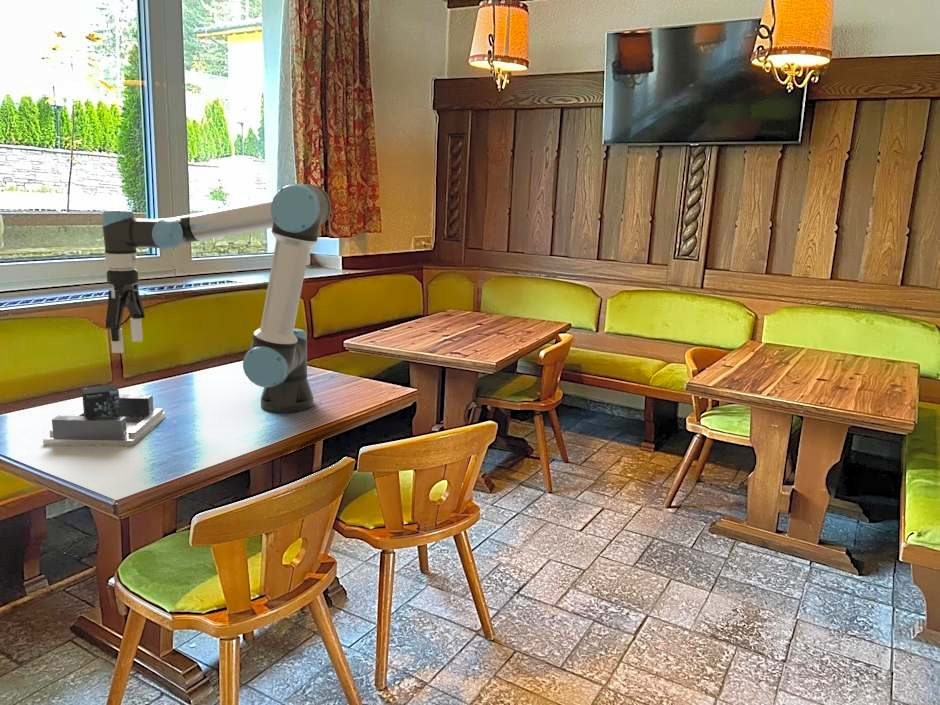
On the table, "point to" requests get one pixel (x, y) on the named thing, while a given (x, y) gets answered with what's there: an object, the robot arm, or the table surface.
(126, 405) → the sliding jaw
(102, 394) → the box
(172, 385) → the table surface
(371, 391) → the table surface
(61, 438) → the beige square tray
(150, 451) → the table surface
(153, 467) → the table surface
